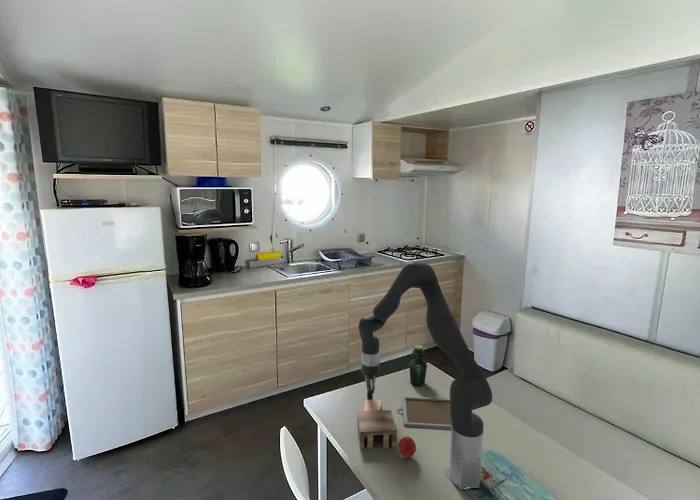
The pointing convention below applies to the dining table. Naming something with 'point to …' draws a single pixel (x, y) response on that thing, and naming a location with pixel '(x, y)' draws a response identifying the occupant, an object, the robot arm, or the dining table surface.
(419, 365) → the potion bottle
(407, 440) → the onion
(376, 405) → the tile
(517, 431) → the dining table surface
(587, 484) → the dining table surface
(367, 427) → the cubby
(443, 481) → the dining table surface
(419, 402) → the grey framed board
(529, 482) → the dining table surface
